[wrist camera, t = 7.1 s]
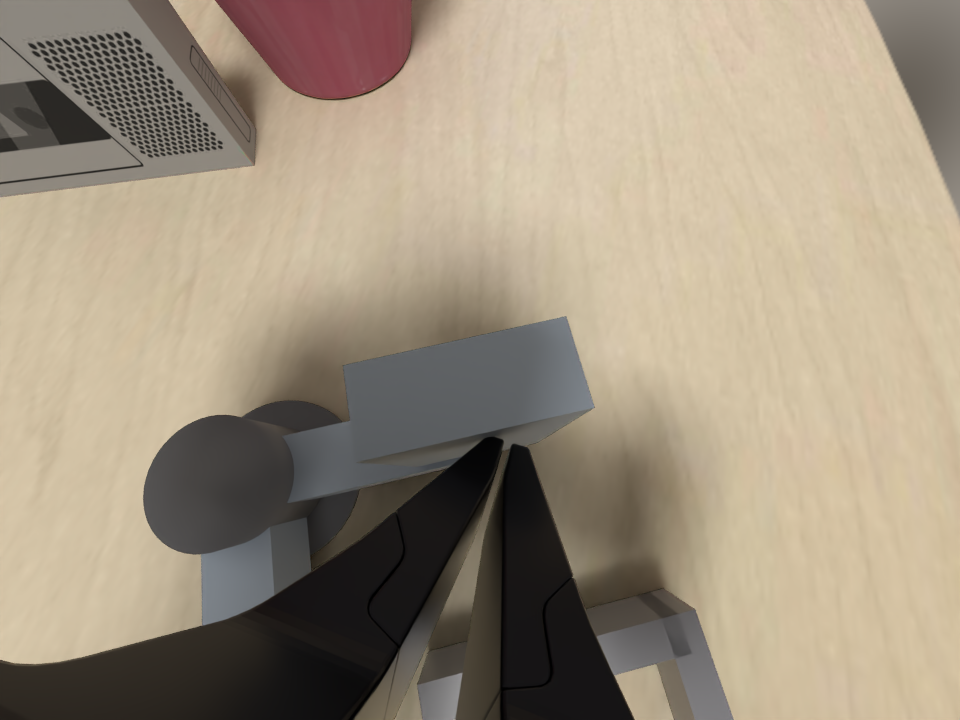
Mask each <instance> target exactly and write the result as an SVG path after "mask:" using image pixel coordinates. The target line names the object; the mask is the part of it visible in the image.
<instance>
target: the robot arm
mask: <svg viewBox="0 0 960 720" xmlns="http://www.w3.org/2000/svg"><path fill="white" fill-rule="evenodd" d="M503 446H504V440H503V439H500V438H497V437H494V436H493V437H487V438H484V439H483V440H481V441H480V442H479V443H478V444H477V445H475V446H474V447H473V448H472V449H471V450H469V451H468V452H467V453H466V454H464V455H463V456H462V457H461V458H460V459H458V460H457V461H456V462H455V463H454V464H452V465H451V466H450V467H449V468H447V469H446V470H445V471H444V472H443V473H441V474H440V475H439V476H438V477H437V478H435V479H434V480H433V481H432V482H430V483H429V484H428V485H427V486H426V487H424V488H423V489H422V490H421V491H420V492H418V493H417V494H416V495H415V496H413V497H412V498H411V499H410V500H409V501H407V502H406V503H405V504H404V505H402V506H401V507H400V508H399V509H398V510H396V513H393V514H391V515H390V516H389V517H388V518H386V519H385V520H384V521H383V522H382V523H380V524H379V525H378V526H377V527H375V528H374V529H373V530H371V531H370V532H369V533H367V534H366V535H365V536H364V537H362V538H361V539H360V540H358V541H357V542H355V543H354V544H352V545H351V546H349V547H348V548H346V549H345V550H343V551H342V552H340V553H339V554H337V555H336V556H334V557H333V558H331V559H330V560H328V561H327V562H325V563H323V564H322V565H320V566H319V567H317V568H316V569H314V570H313V571H311V572H309V573H308V574H306V575H305V576H303V577H302V578H300V579H299V580H297V581H295V582H294V583H292V584H291V585H289V586H288V587H286V588H284V589H283V590H281V591H280V592H278V593H277V594H275V595H274V596H272V597H270V598H269V599H267V600H265V601H264V602H262V603H260V604H259V605H257V606H255V607H253V608H251V609H249V610H247V611H245V612H242V613H240V614H238V615H236V616H233V617H230V618H228V619H225V620H221V621H218V622H214V623H211V624H207V625H203V626H199V627H195V628H192V629H188V630H184V631H180V632H176V633H173V634H169V635H165V636H161V637H157V638H154V639H150V640H146V641H142V642H138V643H135V644H131V645H127V646H123V647H119V648H115V649H112V650H108V651H104V652H100V653H96V654H93V655H89V656H85V657H81V658H76V659H71V660H67V661H62V662H55V663H44V664H15V663H10V662H7V661H3V660H0V720H394V719H395V716H396V714H397V712H398V709H399V707H400V705H401V703H402V700H403V698H404V696H405V694H406V691H407V689H408V687H409V685H410V682H411V680H412V678H413V676H414V673H415V671H416V669H417V666H418V664H419V662H420V660H421V657H422V655H423V653H424V651H425V648H426V646H427V644H428V642H429V639H430V637H431V635H432V633H433V630H434V628H435V626H436V623H437V621H438V619H439V617H440V614H441V612H442V610H443V608H444V605H445V603H446V601H447V599H448V596H449V594H450V592H451V590H452V587H453V585H454V583H455V580H456V578H457V576H458V574H459V571H460V569H461V567H462V565H463V562H464V560H465V558H466V556H467V553H468V551H469V549H470V547H471V544H472V542H473V540H474V537H475V535H476V532H477V529H478V526H479V523H480V520H481V517H482V514H483V511H484V508H485V505H486V502H487V499H488V496H489V493H490V489H491V486H492V483H493V480H494V477H495V474H496V471H497V467H498V464H499V460H500V457H501V453H502V449H503ZM572 577H573V573H572V570H571V567H570V564H569V561H568V559H567V556H566V553H565V550H564V547H563V544H562V542H561V539H560V536H559V533H558V530H557V527H556V524H555V522H554V519H553V516H552V513H551V510H550V507H549V504H548V502H547V499H546V496H545V493H544V490H543V487H542V484H541V482H540V479H539V476H538V473H537V470H536V467H535V464H534V462H533V459H532V456H531V453H530V450H529V449H528V448H527V447H524V446H521V445H518V444H515V443H513V444H512V445H511V447H510V450H509V453H508V456H507V459H506V462H505V465H504V468H503V471H502V474H501V477H500V481H499V484H498V488H497V491H496V495H495V498H494V502H493V505H492V509H491V512H490V516H489V519H488V523H487V527H486V531H485V535H484V540H483V545H482V552H481V558H480V565H479V571H478V577H477V584H476V590H475V597H474V603H473V609H472V616H471V622H470V629H469V635H468V641H467V648H466V654H465V661H464V667H463V673H462V680H461V686H460V693H459V699H458V705H457V712H456V718H455V720H635V719H634V717H633V715H632V713H631V711H630V708H629V706H628V704H627V702H626V700H625V698H624V696H623V693H622V691H621V689H620V687H619V685H618V683H617V680H616V678H615V676H614V674H613V672H612V670H611V668H610V665H609V663H608V661H607V659H606V657H605V654H604V652H603V650H602V648H601V645H600V643H599V641H598V638H597V636H596V634H595V632H594V629H593V627H592V625H591V622H590V619H589V617H588V614H587V611H586V609H585V606H584V604H583V601H582V598H581V596H580V593H579V590H578V587H577V584H576V581H575V579H574V578H572Z"/></svg>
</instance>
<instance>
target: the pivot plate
mask: <svg viewBox="0 0 960 720" xmlns="http://www.w3.org/2000/svg"><path fill="white" fill-rule="evenodd" d="M242 418H246V419H250V420H255V421H259V422H264V423H268V424H273V425H278V426H282V427H287V428H291V429H295V430H298V431H301V432H302V431H307V430H311V429H316V428H320V427H325V426H329V425H333V424H338V423H342V421H341V420H340V419H339V418H338V417H336V416H335V415H334V414H333V413H331V412H329V411H328V410H326V409H324V408H322V407H320V406H317V405H315V404H311V403H308V402H303V401H280V402H274V403H270V404H267V405H264V406H261V407H259V408H256V409H255V410H253V411H251V412H249V413H247V414H246V415H244V416H243V417H242ZM358 493H359V489H357V490H353V491H349V492H344V493H340V494H336V495H331V496H327V497H323V498H320V500H319V502H318V503H317V505H316V507H315V508H314V510H313V511H312V512H311V513H310V515H309V516H308V517H307V527H308V538H309V549H310V555H312V554H313V553H315V552H317V551H318V550H320V549H321V548H322V547H324V546H325V545H326V544H327V543H329V542H330V541H331V540H332V539H333V538H334V537H335V536H336V535H337V533H338V532H339V531H340V530H341V528H342V527H343V526H344V524H345V523H346V521H347V519H348V518H349V516H350V514H351V512H352V510H353V508H354V506H355V503H356V500H357V496H358Z"/></svg>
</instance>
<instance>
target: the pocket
mask: <svg viewBox="0 0 960 720" xmlns="http://www.w3.org/2000/svg"><path fill="white" fill-rule="evenodd" d="M586 611H587V614H588V617H589V619H590V622H591V625H592V627H593V629H594V632H595V634H596V636H597V638H598V641H599V643H600V645H601V648H602V650H603V652H604V654H605V657H606V659H607V661H608V663H609V665H610V668H611V670H612V672H613V674H614V675H617V674H621V673H624V672H628V671H632V670H635V669H639V668H642V667H646V666H650V665H653V664H657V666H658V669H659V672H660V675H661V679H662V682H663V685H664V688H665V691H666V695H667V698H668V701H669V704H670V707H671V711H672V714H673V717H674V720H734V719H733V716H732V714H731V711H730V708H729V705H728V702H727V699H726V696H725V693H724V691H723V688H722V685H721V682H720V679H719V676H718V673H717V671H716V668H715V665H714V662H713V659H712V656H711V653H710V651H709V648H708V645H707V642H706V639H705V636H704V633H703V631H702V628H701V625H700V622H699V619H698V616H697V613H696V610H695V609H694V608H692V607H691V606H689V605H688V604H686V603H685V602H683V601H682V600H680V599H679V598H677V597H676V596H674V595H673V594H671V593H670V592H668V591H667V590H665V589H664V588H663V589H659V590H656V591H652V592H648V593H644V594H641V595H637V596H633V597H630V598H626V599H622V600H618V601H615V602H611V603H607V604H604V605H600V606H596V607H592V608H589V609H586ZM466 648H467V641H466V642H462V643H458V644H455V645H451V646H447V647H444V648H440V649H436V650H432V651H429V652H428V655H427V658H426V661H425V664H424V667H423V670H422V673H421V675H420V678H419V681H418V684H417V687H418V693H419V699H420V705H421V711H422V718H423V720H455V718H456V712H457V705H458V699H459V693H460V686H461V680H462V673H463V667H464V661H465V654H466Z"/></svg>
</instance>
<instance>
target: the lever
mask: <svg viewBox="0 0 960 720" xmlns="http://www.w3.org/2000/svg"><path fill="white" fill-rule="evenodd" d="M343 371H344V379H345V386H346V394H347V402H348V410H349V418H350V421H347V422H342V423H338V424H333V425H329V426H325V427H320V428H316V429H311V430H307V431H302V432H301V431H298V430H295V429H291V428H287V427H282V426H278V425H273V424H268V423H264V422H259V421H255V420H250V419H246V418H241V417H237V416H231V415H215V416H209V417H205V418H202V419H199V420H197V421H194V422H192V423H190V424H188V425H187V426H185V427H183V428H182V429H180V430H179V431H178V432H176V433H175V434H174V435H173V436H172V437H171V438H170V439H169V440H168V441H167V442H166V443H165V444H164V445H163V446H162V448H161V449H160V450H159V452H158V453H157V455H156V457H155V458H154V460H153V462H152V464H151V466H150V468H149V471H148V474H147V477H146V481H145V486H144V494H143V502H144V510H145V515H146V518H147V521H148V524H149V526H150V528H151V529H152V531H153V532H154V534H155V535H156V536H157V538H158V539H160V540H161V541H162V542H163V543H164V544H165V545H167V546H168V547H170V548H172V549H174V550H176V551H179V552H183V553H187V554H201V572H202V626H203V625H207V624H211V623H214V622H218V621H221V620H225V619H228V618H230V617H233V616H236V615H238V614H240V613H242V612H245V611H247V610H249V609H251V608H253V607H255V606H257V605H259V604H260V603H262V602H264V601H265V600H267V599H269V598H270V597H272V596H274V595H275V594H277V593H278V592H280V591H281V590H283V589H284V588H286V587H288V586H289V585H291V584H292V583H294V582H295V581H297V580H299V579H300V578H302V577H303V576H305V575H306V574H308V573H309V572H311V560H310V549H309V538H308V527H307V517H308V516H309V515H310V513H311V512H312V511H313V510H314V508H315V507H316V505H317V503H318V502H319V500H320V498H323V497H327V496H331V495H336V494H340V493H344V492H349V491H353V490H357V489H361V488H366V487H370V486H374V485H379V484H383V483H387V482H392V481H396V480H400V479H404V478H409V477H413V476H417V475H422V474H426V473H430V472H435V471H439V470H443V469H447V468H449V467H450V466H451V465H452V464H454V463H455V462H456V461H457V460H458V459H460V458H461V457H462V456H463V455H464V454H466V453H467V452H468V451H469V450H471V449H472V448H473V447H474V446H475V445H477V444H478V443H479V442H480V441H481V440H483V439H484V438H487V437H493V436H494V437H497V438H500V439H503V440H504V446H503V449H502V451H504V450H508V449H510V447H511V445H512V444H513V443H515V444H518V445H521V446H525V445H530V444H534V443H538V442H539V441H541V440H543V439H544V438H546V437H547V436H549V435H551V434H552V433H554V432H556V431H557V430H559V429H561V428H562V427H564V426H565V425H567V424H569V423H570V422H572V421H574V420H575V419H577V418H578V417H580V416H582V415H583V414H585V413H587V412H588V411H590V410H591V409H593V408H595V407H594V404H593V401H592V398H591V394H590V391H589V388H588V385H587V381H586V378H585V375H584V372H583V369H582V365H581V362H580V359H579V356H578V353H577V349H576V346H575V343H574V340H573V337H572V333H571V330H570V327H569V324H568V320H567V317H566V316H565V317H561V318H556V319H552V320H547V321H543V322H538V323H533V324H529V325H524V326H520V327H515V328H511V329H506V330H502V331H497V332H492V333H488V334H483V335H479V336H474V337H470V338H465V339H461V340H456V341H452V342H447V343H442V344H438V345H433V346H429V347H424V348H420V349H415V350H411V351H406V352H402V353H397V354H392V355H388V356H383V357H379V358H374V359H370V360H365V361H361V362H356V363H351V364H347V365H343Z"/></svg>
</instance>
